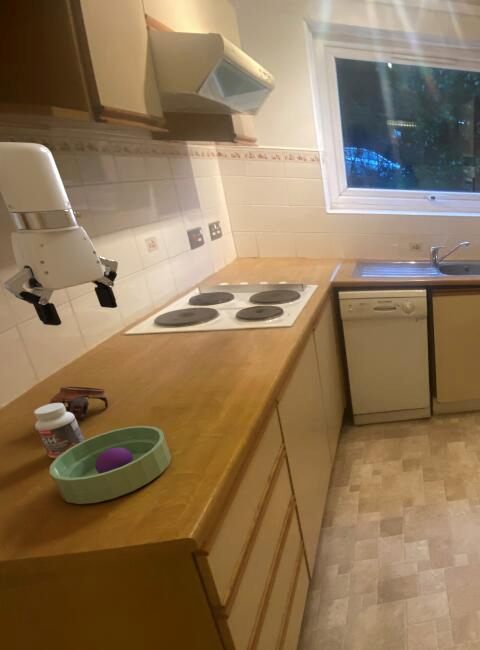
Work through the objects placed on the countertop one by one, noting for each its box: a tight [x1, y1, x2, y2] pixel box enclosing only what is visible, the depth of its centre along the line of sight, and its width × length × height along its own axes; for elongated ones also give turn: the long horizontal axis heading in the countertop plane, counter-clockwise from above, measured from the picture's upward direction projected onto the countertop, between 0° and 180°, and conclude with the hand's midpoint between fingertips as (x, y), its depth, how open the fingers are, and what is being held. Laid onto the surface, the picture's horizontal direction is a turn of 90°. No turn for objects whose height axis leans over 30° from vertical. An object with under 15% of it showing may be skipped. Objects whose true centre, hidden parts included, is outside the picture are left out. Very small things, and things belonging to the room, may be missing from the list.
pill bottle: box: [33, 403, 86, 459], centre depth 83 cm, size 5×5×10 cm
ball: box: [95, 448, 133, 474], centre depth 78 cm, size 5×5×5 cm
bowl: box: [49, 425, 173, 505], centre depth 78 cm, size 15×15×6 cm
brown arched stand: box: [49, 386, 109, 423], centre depth 95 cm, size 12×9×8 cm
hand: (82, 315), depth 80 cm, fingers open, 9 cm apart
